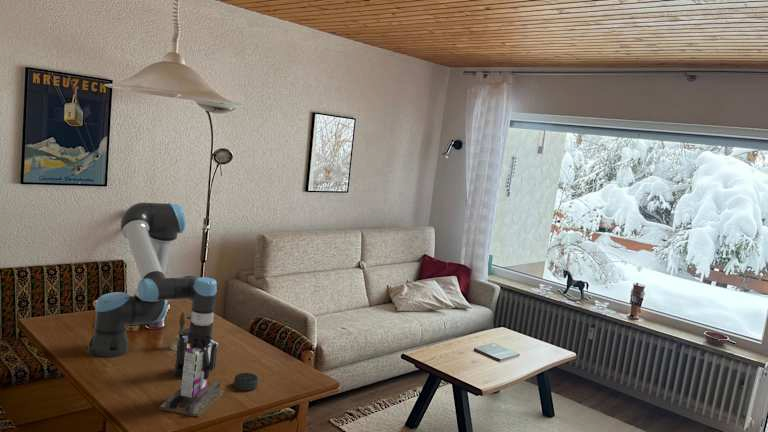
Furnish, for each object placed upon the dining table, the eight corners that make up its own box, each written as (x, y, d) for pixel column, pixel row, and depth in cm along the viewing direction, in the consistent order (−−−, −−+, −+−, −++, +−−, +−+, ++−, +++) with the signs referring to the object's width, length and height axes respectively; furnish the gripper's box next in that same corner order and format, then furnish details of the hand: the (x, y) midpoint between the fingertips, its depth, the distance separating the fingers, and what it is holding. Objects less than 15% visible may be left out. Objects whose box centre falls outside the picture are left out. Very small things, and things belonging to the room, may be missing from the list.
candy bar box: (195, 383, 211) (200, 340, 209) (208, 386, 211) (213, 343, 209) (178, 395, 200) (184, 350, 199) (192, 399, 200) (197, 353, 198)
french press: (204, 376, 227) (210, 319, 224) (182, 381, 220) (188, 322, 217) (188, 365, 234) (193, 310, 232) (166, 370, 227) (172, 313, 225)
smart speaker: (230, 389, 219) (232, 379, 218) (236, 380, 228) (237, 370, 227) (254, 393, 219) (255, 382, 218) (259, 383, 228) (260, 373, 227)
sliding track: (159, 409, 196) (160, 399, 196) (188, 385, 217) (189, 376, 217) (198, 417, 195) (199, 407, 194) (224, 392, 215) (225, 383, 215)
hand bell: (165, 348, 249) (169, 312, 247) (179, 343, 257) (182, 308, 255) (181, 353, 246) (184, 316, 244) (194, 347, 254) (197, 312, 252)
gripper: (171, 320, 200) (165, 385, 203) (221, 330, 198) (214, 395, 201) (182, 315, 207) (175, 377, 210) (230, 324, 205) (223, 386, 208)
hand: (194, 385), depth 205 cm, fingers closed on candy bar box, 5 cm apart
